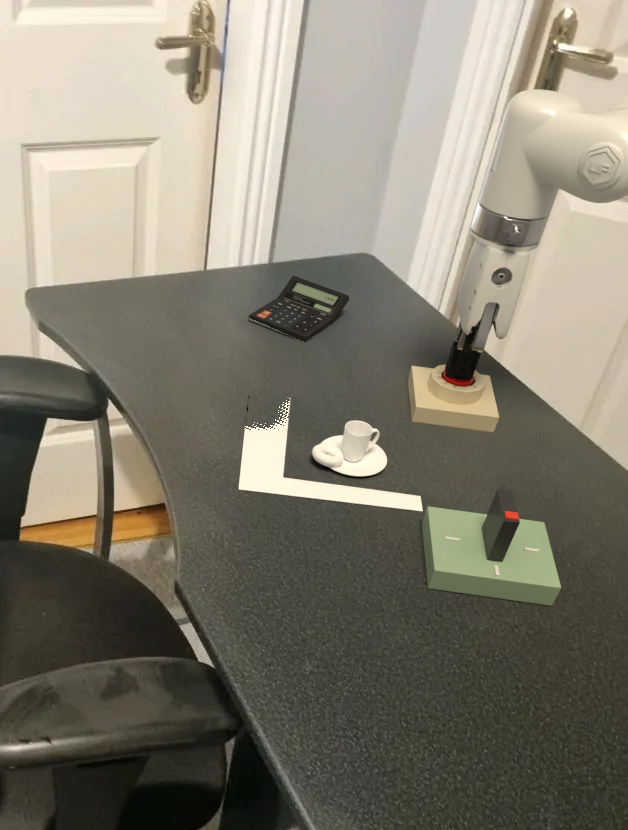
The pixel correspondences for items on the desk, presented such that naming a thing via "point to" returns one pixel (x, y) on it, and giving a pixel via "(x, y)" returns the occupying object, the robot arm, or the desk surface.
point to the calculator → (302, 309)
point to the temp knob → (500, 525)
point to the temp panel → (471, 571)
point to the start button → (458, 381)
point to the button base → (451, 400)
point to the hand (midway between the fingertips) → (457, 375)
